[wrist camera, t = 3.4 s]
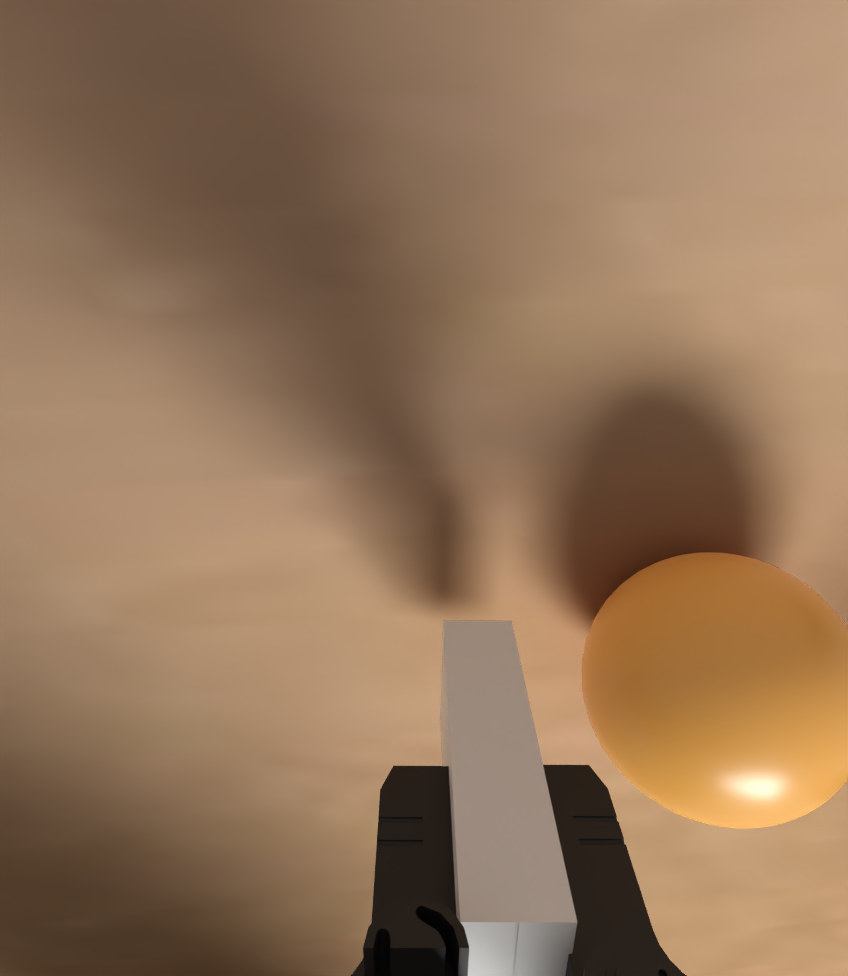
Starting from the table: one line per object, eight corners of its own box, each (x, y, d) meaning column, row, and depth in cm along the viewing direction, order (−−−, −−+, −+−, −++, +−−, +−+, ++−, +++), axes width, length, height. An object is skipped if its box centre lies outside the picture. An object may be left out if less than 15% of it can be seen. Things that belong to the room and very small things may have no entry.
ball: (532, 775, 16) (670, 673, 19) (764, 958, 11) (894, 788, 14) (525, 570, 14) (681, 492, 17) (802, 700, 9) (945, 564, 12)
